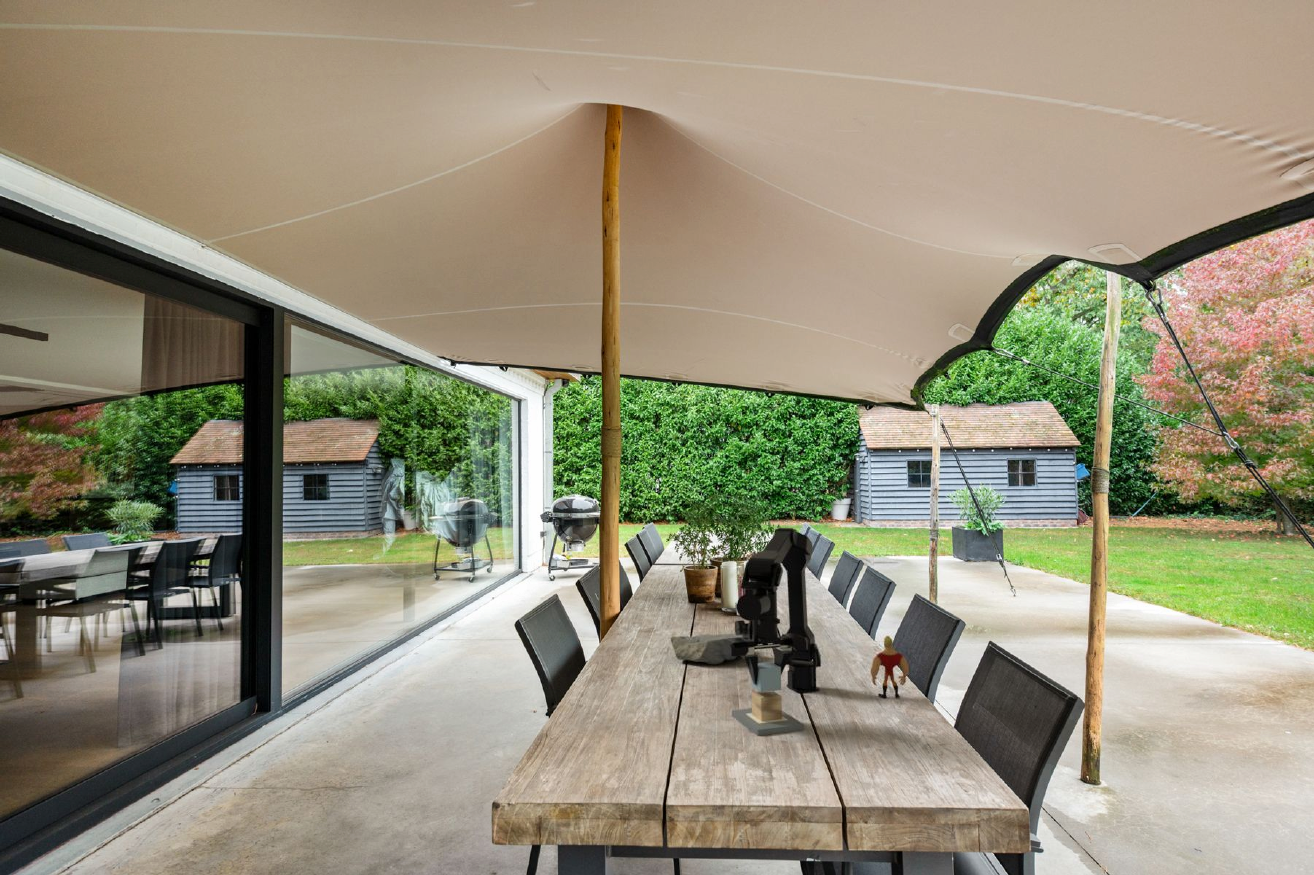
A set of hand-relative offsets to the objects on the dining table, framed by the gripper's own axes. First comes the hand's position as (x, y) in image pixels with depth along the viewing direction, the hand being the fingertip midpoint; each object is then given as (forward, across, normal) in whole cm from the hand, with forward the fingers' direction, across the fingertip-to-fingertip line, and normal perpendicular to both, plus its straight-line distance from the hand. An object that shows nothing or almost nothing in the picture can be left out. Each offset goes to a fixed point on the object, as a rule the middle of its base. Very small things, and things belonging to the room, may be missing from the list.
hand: (765, 683), depth 166 cm
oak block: (+7, 0, 0) cm, 7 cm away
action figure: (+9, -37, -7) cm, 39 cm away
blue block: (+1, 0, 0) cm, 1 cm away
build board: (+9, 0, 0) cm, 9 cm away
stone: (+9, -11, -61) cm, 63 cm away
